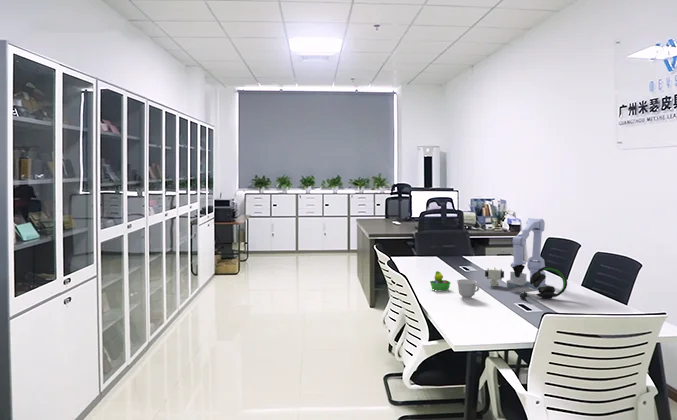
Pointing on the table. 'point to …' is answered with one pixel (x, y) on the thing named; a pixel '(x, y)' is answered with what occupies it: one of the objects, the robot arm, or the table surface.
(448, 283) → the fruit basket
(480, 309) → the table surface
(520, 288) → the pad
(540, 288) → the headset
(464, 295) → the teacup
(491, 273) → the pneumatic valve
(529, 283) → the corner walls
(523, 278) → the angle bracket
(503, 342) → the table surface
